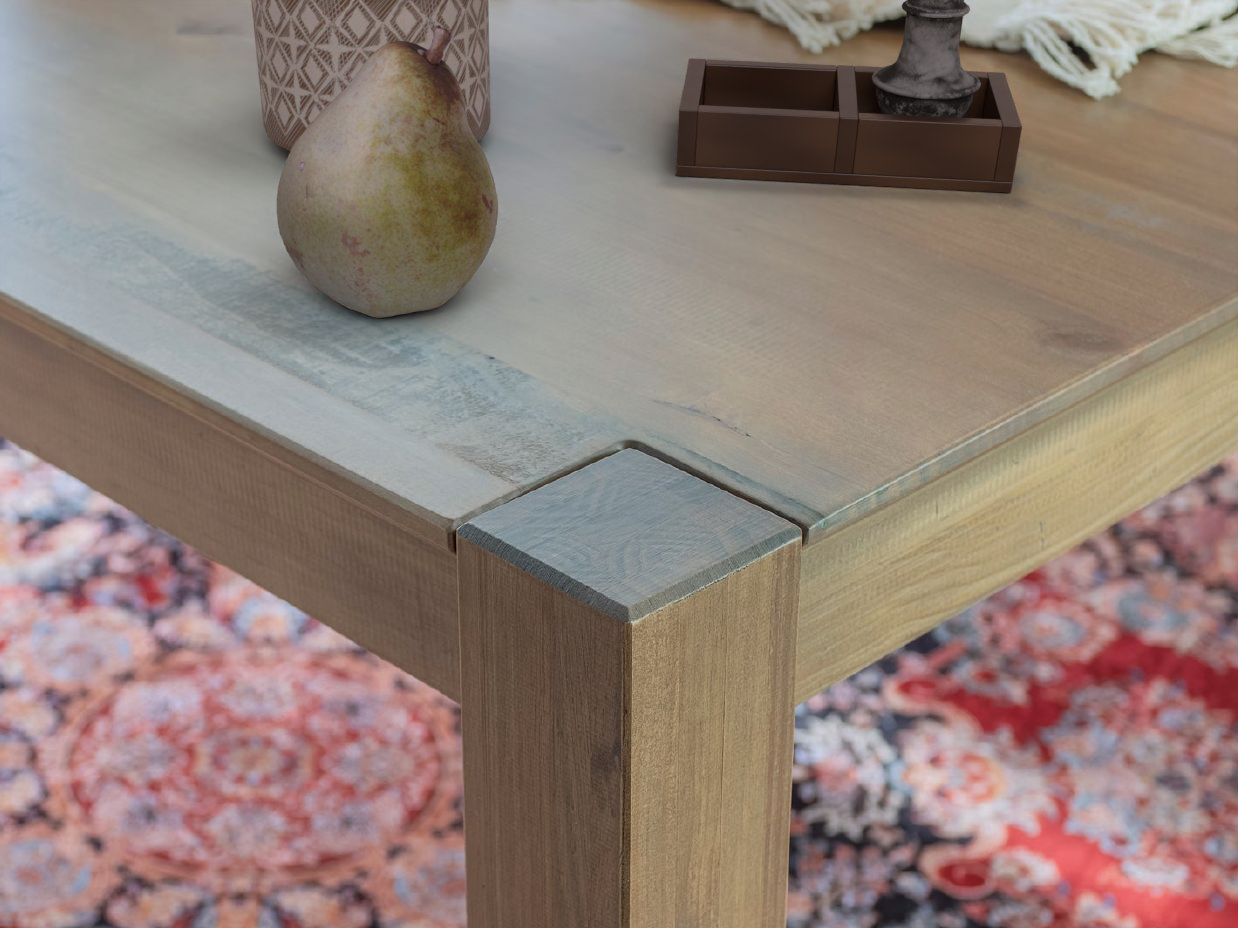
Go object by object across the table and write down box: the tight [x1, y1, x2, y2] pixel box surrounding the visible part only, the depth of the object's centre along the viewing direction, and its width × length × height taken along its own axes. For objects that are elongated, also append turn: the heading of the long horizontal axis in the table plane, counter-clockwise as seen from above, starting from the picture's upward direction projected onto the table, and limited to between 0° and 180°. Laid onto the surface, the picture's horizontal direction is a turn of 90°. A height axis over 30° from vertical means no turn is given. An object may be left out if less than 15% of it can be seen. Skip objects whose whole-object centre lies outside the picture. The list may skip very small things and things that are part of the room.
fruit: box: [276, 25, 499, 319], centre depth 73 cm, size 10×9×12 cm
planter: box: [250, 0, 491, 152], centre depth 91 cm, size 13×13×10 cm
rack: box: [675, 57, 1023, 194], centre depth 92 cm, size 18×10×4 cm, turn 84°
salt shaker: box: [872, 0, 981, 118], centre depth 89 cm, size 6×6×12 cm
